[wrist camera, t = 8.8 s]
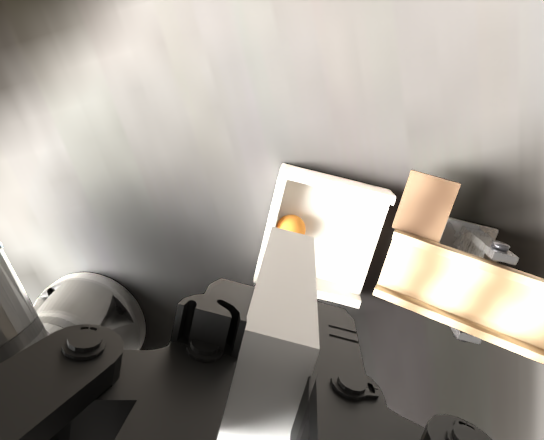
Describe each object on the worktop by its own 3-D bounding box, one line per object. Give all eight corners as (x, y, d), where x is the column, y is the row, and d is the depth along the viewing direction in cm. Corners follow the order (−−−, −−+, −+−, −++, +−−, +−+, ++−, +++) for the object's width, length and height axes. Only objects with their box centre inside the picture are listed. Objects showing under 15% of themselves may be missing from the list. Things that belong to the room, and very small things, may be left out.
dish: (256, 268, 51) (252, 281, 48) (282, 162, 47) (280, 168, 44) (355, 293, 51) (358, 308, 47) (389, 189, 47) (396, 197, 43)
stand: (416, 298, 51) (438, 339, 42) (447, 215, 47) (479, 241, 39) (462, 309, 51) (494, 353, 42) (497, 228, 47) (540, 256, 39)
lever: (372, 285, 47) (367, 292, 44) (411, 169, 43) (409, 171, 40) (573, 365, 39) (579, 378, 37) (644, 235, 35) (656, 241, 33)
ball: (267, 240, 47) (292, 251, 45) (274, 212, 46) (299, 222, 44) (282, 235, 50) (306, 245, 48) (289, 208, 49) (314, 218, 47)
